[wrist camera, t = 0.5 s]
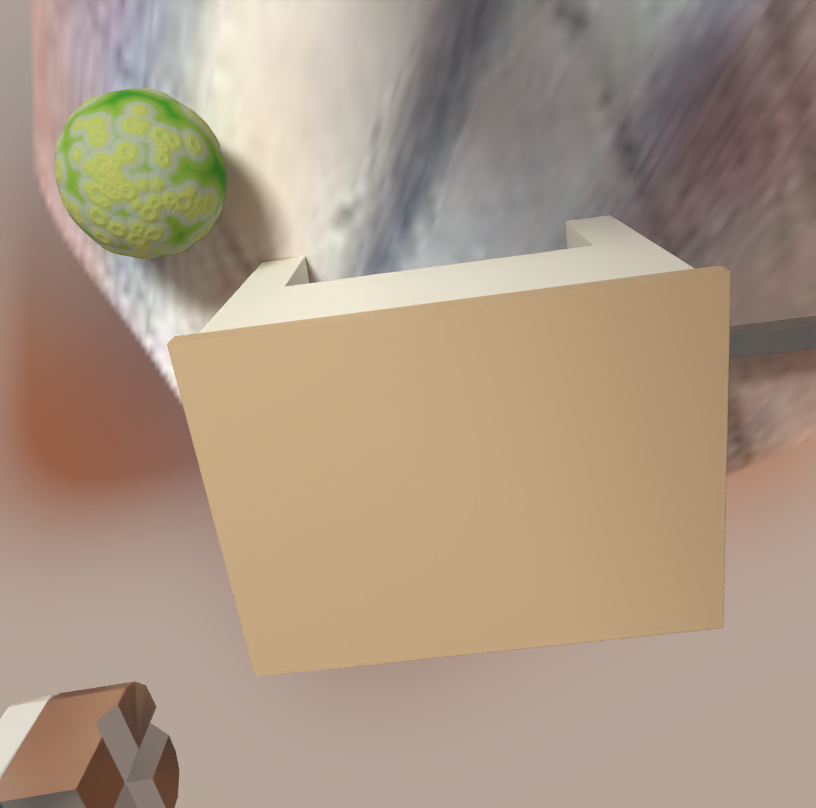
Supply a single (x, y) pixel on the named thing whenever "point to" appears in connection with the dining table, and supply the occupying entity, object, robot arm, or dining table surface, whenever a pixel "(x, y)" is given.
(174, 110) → the decorative ball
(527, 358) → the white tan small table
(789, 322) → the hoe scraper
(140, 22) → the dining table surface
